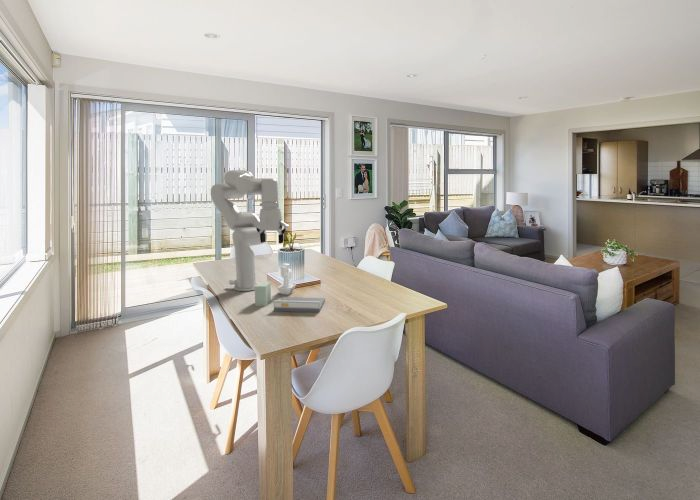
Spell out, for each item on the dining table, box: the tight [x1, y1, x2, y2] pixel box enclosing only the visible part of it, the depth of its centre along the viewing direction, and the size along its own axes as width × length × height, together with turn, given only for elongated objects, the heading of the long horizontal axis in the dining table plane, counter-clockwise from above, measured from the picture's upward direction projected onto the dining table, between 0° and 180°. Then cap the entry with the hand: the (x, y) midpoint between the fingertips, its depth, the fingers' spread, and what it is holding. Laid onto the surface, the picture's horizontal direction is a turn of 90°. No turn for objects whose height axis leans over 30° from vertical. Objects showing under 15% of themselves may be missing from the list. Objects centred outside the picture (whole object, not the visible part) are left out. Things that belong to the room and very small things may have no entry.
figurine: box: [277, 263, 297, 296], centre depth 206 cm, size 7×9×15 cm
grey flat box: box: [273, 296, 326, 313], centre depth 187 cm, size 20×16×4 cm
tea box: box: [254, 281, 272, 307], centre depth 191 cm, size 8×5×9 cm, turn 175°
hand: (272, 242), depth 194 cm, fingers open, 9 cm apart
